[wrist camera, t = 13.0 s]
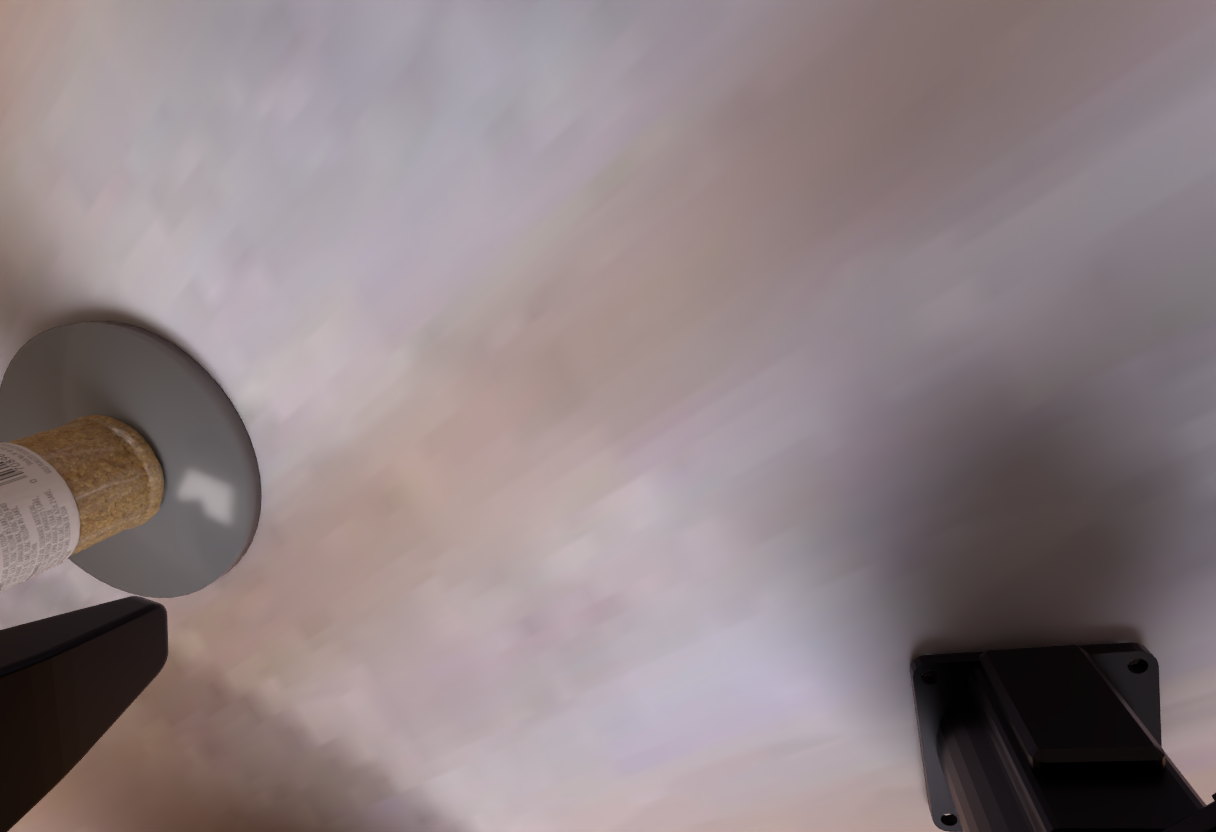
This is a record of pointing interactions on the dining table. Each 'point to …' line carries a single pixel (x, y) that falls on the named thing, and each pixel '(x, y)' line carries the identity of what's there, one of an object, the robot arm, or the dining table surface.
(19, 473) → the sprinkles bottle
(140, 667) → the robot arm
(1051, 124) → the dining table surface
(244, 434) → the slate gray plate
